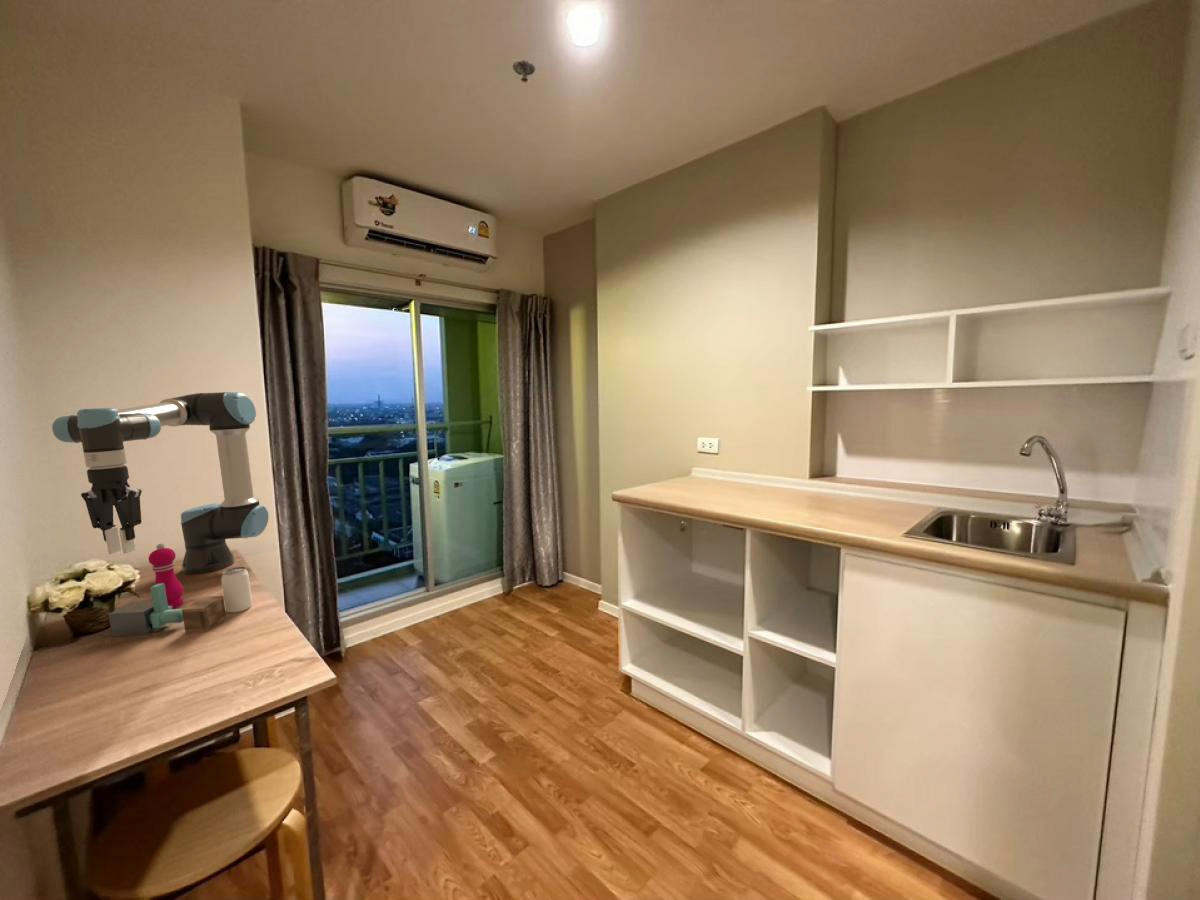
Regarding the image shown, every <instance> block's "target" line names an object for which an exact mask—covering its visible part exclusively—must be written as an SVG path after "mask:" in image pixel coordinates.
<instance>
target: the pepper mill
mask: <svg viewBox="0 0 1200 900" xmlns="http://www.w3.org/2000/svg"><path fill="white" fill-rule="evenodd" d="M176 555H177V554H176V552H175V551H174V549H172V548H167V547H165V545H164V543H158V544H157V545H156V549H154V550H153V551H152V552H150V553H149V555H148V563H149V564H150V565H152V572H154V573H155V583H154V585H156V584H162V583H164V584H165V590H166V596H167V602H168V606H172V609H178V608H180V607H181V606H183V605H184V603H185V602H184V597H182V596H183V594H184V592H185V589H184V586H183V584H182V582H181V581H180V580H178V578H177V576H176V574H175V571H174V569H175V567H176V565H175V564H176V563H175V562H174V560H175V559H176Z"/></svg>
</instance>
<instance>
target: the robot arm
mask: <svg viewBox="0 0 1200 900" xmlns="http://www.w3.org/2000/svg"><path fill="white" fill-rule="evenodd" d="M253 402H254V401H252V400H251V398H249V396H248V394H247V395H246V394H245V393H243V392H238V391H227V392H226V391H222V392H199V393H197V392H196V393H191V394H185V395H181V396H175V397H171V398H165V399H162V400H161V401H159V402H158V403H153V404H146V405H140V406H133V407H127V408H120V409H119V408H118V409H117V408H115V407H101V408H100V407H99V408H82V409H81V408H80V409H79V410H78V411H77V412H76V413H77V415H75V414H72V415H71V414H69V415H62V416H59V417H57V418H56V419H55V420H54V421H53V423H52V426H51V430H52V432H53V435H54V437H55V438H56V439H57V440H59V441H60V442H63V443H74V444H79V443H81V446H82V452H83V459H84V463H85V467H86V468H88V469H87V471H86V473H87V474H86V475H87V480H88V483H90V484H92V485H91V488H90V490H88V491H85V492H82V493H81V494H80V496H81V498H82V499H83V501H84V502H85V505H86V508H87V512H88V516H89V519H90V523H91V526H92V528H93V529H100V530H101V531H102V537H103V540H104V542H106V545H107V551H108V554H109V555H112V554H115V553H117V552H121V551H122V554H128V553H131V552H132V551H135V550H136V546H135V540H134V539H135V538H136V533H135V532H136V531H135V527H136V526H139V525H141V524H142V511H141V495H142V492H143V490H142V489H141V488H137V489H135V488H132V487H131V485H130V484H129V483H128V480H129V478H130V474H129V469H128V466H127V465H126V464H127V463H128V462H127V458H126V452H125V451H126V450H125V446H124V442H129V441H131V442H132V441H139V440H147V439H151V438H155V437H156V436H158V435H159V434H160V432H161V430H162V427H164V426H169V427H179V426H180V427H181V426H208V427H209V431H210V433H213V434H214V435H215V437H216V444H217V454H218V459H219V460H218V461H219V467H220V468H219V469H220V475H221V482H222V483H221V484H222V491H223V498H224V499H223V501H222V502H221V503H217V502H216V503H210V504H205V505H204V504H203V505H200V506H196V507H192V508H190V509H186V510H184V511H183V512H181V514H180V525H181V530H182V531H181V532H182V536H183V541H184V542H183V543H184V548H185V553H184V556H183V559H182V565H181V569H182V573H183V574H184V575H185V574H186V575H199V574H207V573H210V572H214V571H218V570H222V569H224V568H227V567H230V566H232V565H233V564H234V563H235V556H234V554H233V553H232V551H231V549H230V548H229V546H228V544H227V541H226V540H228V539H229V540H230V539H231V540H233V539H248V538H249V539H250V538H256V537H258V536H261V534H262V533H263V532H265V529H266V527H267V526H268V523H269V510H268V509H267V507H266V506H264V505H260V500H259V498H257V497H255V496H254V490H253V482H252V475H251V467H250V458H249V451H248V450H249V449H248V444H247V436H246V435H247V432H248V431H249V430H250V429H251V426H250V425H251V424H252V423H254V422H255V420H256V418H257V417H256V416H257V410H256V407H255V405H254V403H253ZM114 508H115V512H116V514H117V517H118V519H119V522H120V526H121V527H120V528H119V529H118V527H116V526H117V525H116V524H114Z"/></svg>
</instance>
